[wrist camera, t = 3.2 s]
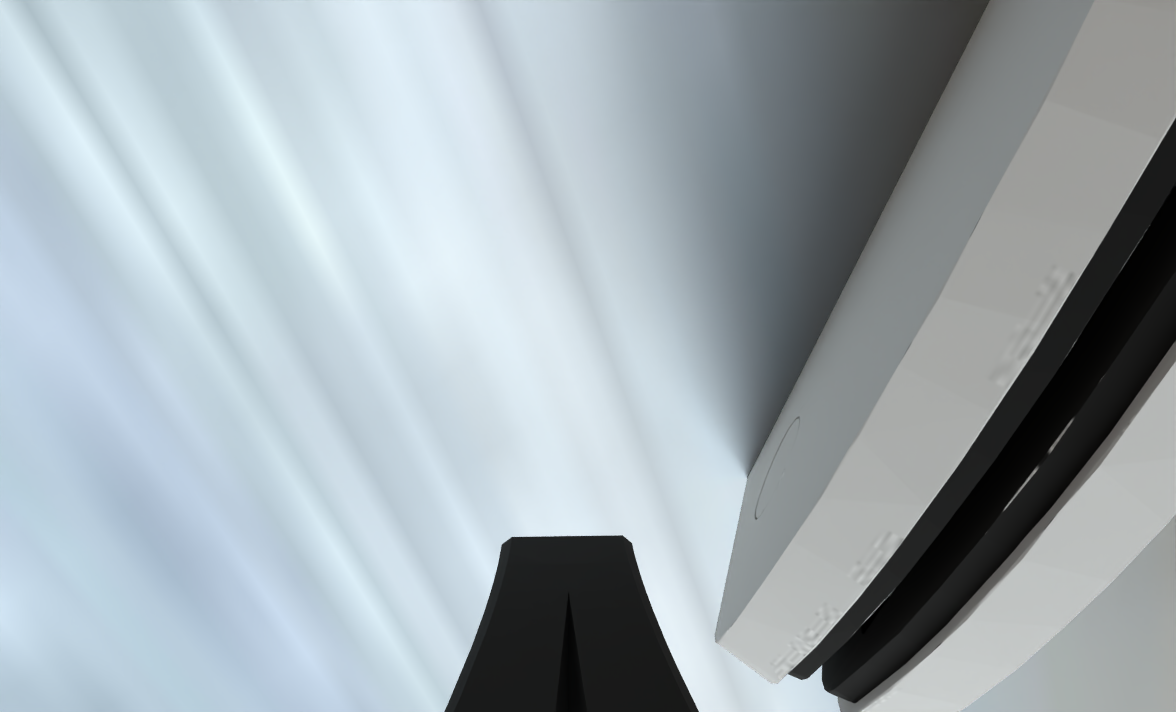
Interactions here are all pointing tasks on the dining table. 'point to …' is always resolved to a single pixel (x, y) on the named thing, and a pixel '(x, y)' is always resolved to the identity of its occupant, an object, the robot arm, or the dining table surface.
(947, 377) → the white zipper pouch
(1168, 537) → the dining table surface
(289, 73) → the dining table surface
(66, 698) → the dining table surface
